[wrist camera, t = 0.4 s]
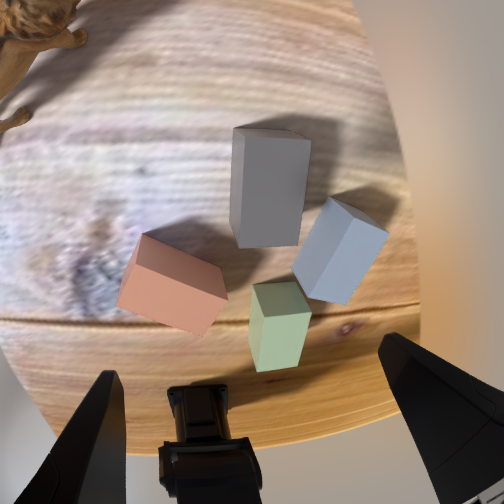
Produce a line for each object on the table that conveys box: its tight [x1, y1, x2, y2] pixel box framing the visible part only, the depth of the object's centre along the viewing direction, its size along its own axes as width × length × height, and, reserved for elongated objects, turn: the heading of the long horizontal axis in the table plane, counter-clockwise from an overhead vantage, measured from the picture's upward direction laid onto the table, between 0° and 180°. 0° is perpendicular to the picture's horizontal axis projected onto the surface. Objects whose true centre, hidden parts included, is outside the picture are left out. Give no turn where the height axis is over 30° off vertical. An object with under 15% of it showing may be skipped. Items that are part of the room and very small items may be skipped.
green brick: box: [248, 281, 312, 372], centre depth 24 cm, size 6×4×4 cm, turn 176°
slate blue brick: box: [291, 196, 390, 305], centre depth 22 cm, size 6×4×4 cm, turn 156°
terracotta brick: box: [116, 234, 228, 337], centre depth 20 cm, size 6×4×4 cm, turn 56°
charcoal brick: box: [229, 128, 312, 249], centre depth 18 cm, size 6×4×4 cm, turn 176°
